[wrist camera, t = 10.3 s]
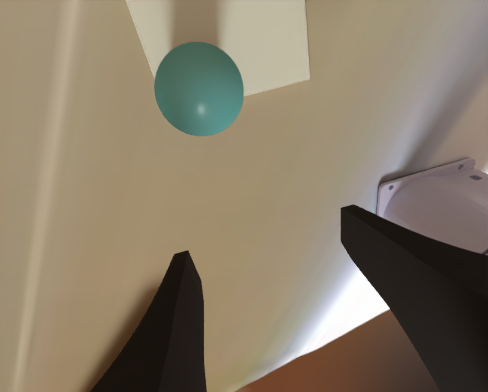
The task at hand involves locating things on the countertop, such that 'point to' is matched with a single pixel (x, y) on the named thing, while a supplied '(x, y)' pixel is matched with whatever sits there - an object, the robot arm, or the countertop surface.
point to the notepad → (231, 35)
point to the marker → (199, 88)
